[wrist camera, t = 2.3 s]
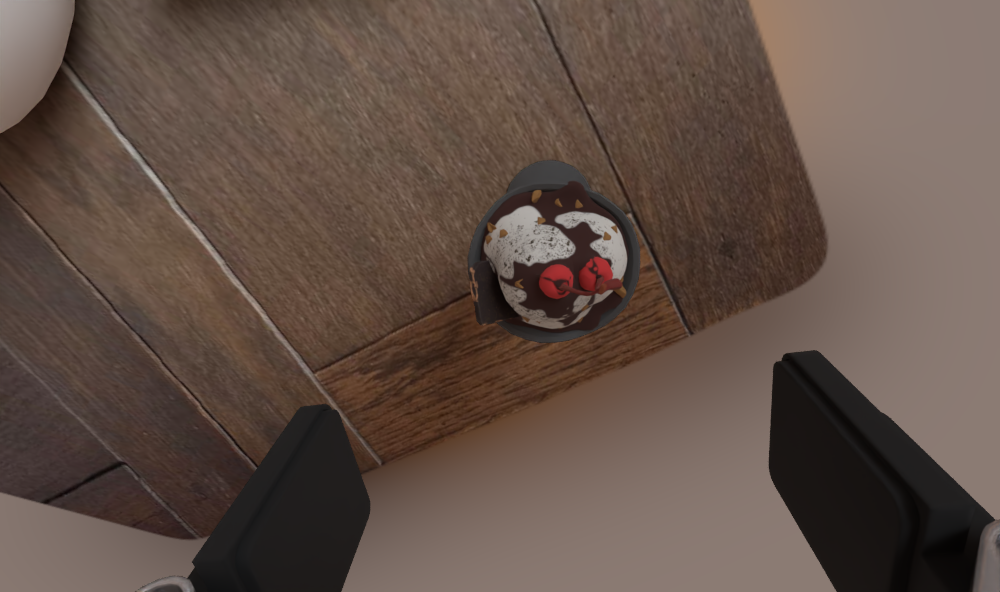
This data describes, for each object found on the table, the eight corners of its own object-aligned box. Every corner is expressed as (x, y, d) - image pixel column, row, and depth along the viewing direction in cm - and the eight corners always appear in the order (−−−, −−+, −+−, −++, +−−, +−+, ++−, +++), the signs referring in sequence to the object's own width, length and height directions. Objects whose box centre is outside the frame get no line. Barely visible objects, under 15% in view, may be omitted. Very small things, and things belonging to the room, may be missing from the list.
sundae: (626, 164, 28) (712, 257, 14) (582, 273, 30) (617, 440, 17) (511, 125, 27) (483, 183, 14) (476, 239, 30) (424, 382, 16)
